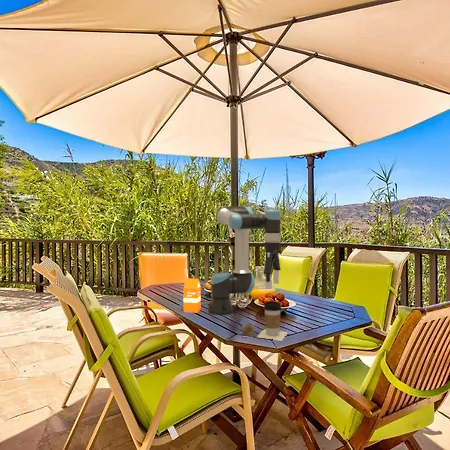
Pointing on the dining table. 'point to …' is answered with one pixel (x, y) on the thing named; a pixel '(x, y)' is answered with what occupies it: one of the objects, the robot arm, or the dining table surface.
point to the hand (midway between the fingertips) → (272, 285)
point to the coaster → (279, 337)
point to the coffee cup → (272, 318)
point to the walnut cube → (248, 330)
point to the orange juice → (192, 295)
